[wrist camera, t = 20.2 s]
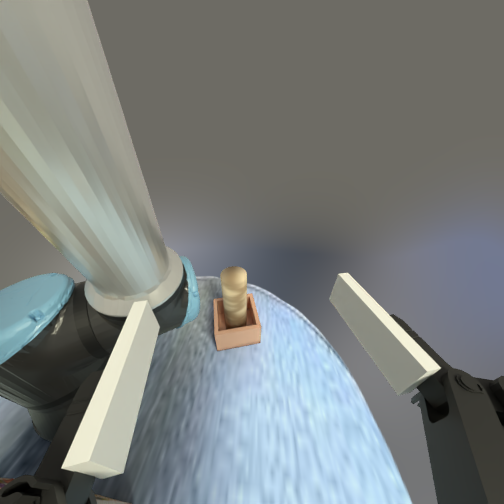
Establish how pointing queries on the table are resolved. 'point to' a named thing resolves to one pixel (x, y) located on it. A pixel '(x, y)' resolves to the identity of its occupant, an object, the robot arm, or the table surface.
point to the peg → (234, 297)
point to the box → (236, 335)
